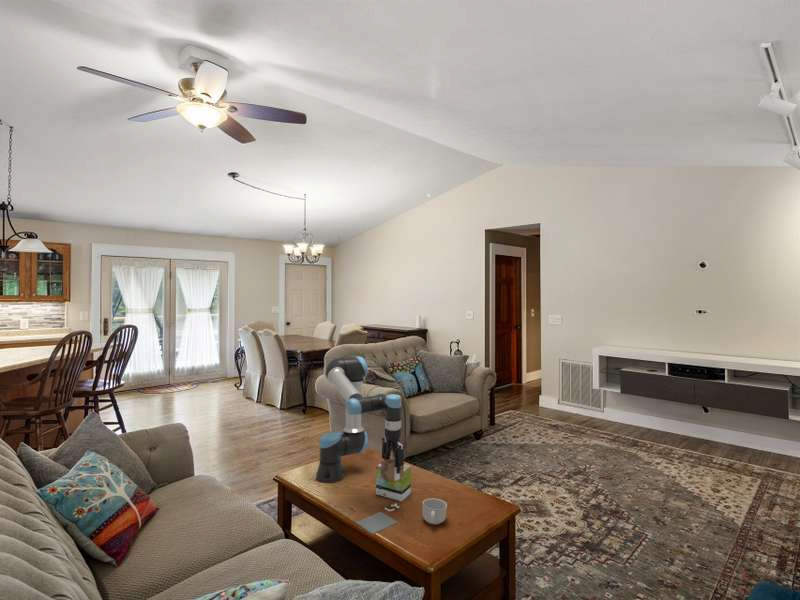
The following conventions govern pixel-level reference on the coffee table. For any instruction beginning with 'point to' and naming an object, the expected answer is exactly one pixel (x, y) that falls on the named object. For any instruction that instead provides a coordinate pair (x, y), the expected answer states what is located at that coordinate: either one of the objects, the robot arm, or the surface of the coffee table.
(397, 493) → the tea box
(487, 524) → the coffee table surface
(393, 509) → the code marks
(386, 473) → the walnut block
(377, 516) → the coaster
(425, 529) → the coffee table surface
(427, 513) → the teacup
